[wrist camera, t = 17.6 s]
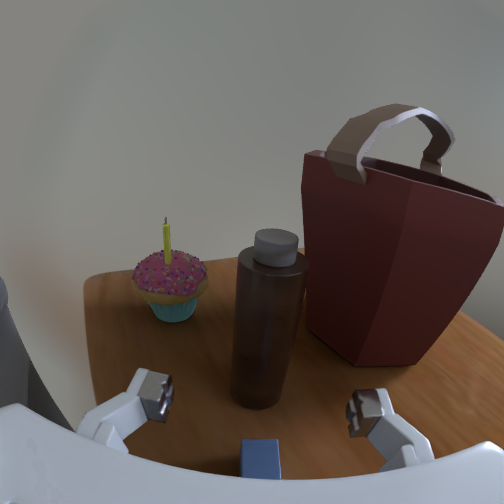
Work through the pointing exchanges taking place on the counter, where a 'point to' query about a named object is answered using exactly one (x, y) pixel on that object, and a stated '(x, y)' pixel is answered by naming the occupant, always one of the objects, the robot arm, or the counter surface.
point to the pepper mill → (266, 316)
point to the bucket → (390, 242)
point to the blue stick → (260, 459)
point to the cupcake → (170, 281)
